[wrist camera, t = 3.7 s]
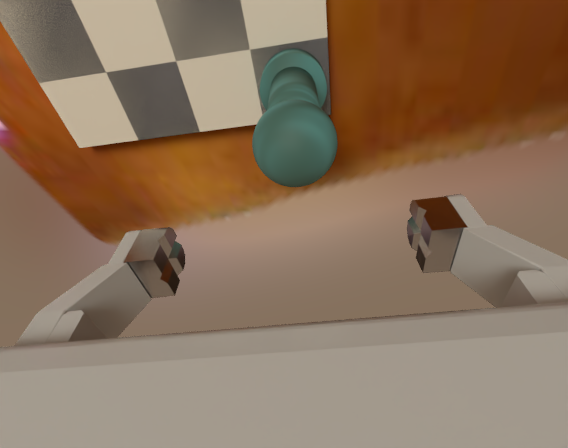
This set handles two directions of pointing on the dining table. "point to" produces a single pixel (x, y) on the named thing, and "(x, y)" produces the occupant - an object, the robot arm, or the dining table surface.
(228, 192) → the dining table surface
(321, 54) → the board
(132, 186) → the dining table surface
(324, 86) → the pawn
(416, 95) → the dining table surface
